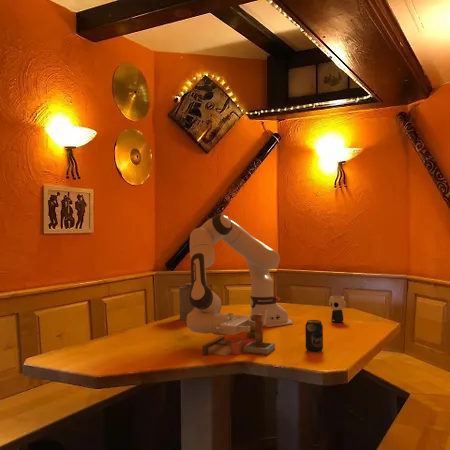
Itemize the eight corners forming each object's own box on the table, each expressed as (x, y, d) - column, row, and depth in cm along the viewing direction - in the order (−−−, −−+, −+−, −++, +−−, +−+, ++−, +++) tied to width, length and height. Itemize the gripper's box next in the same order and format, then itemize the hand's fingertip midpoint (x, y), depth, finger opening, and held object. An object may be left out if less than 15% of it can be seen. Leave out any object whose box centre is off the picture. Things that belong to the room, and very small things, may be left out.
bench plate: (205, 353, 201) (204, 347, 201) (218, 345, 214) (218, 339, 214) (228, 355, 198) (228, 349, 198) (240, 347, 211) (240, 341, 210)
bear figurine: (324, 321, 263) (324, 296, 263) (333, 319, 268) (333, 294, 267) (341, 324, 255) (341, 298, 254) (350, 322, 259) (350, 297, 259)
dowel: (261, 347, 206) (260, 313, 206) (264, 349, 203) (263, 315, 203) (254, 348, 205) (254, 314, 205) (257, 350, 202) (256, 315, 202)
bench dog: (231, 354, 200) (231, 342, 200) (238, 349, 208) (238, 338, 208) (238, 354, 199) (238, 343, 199) (245, 349, 207) (245, 338, 207)
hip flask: (201, 322, 262) (201, 284, 262) (195, 324, 259) (195, 285, 259) (183, 318, 274) (182, 281, 274) (177, 319, 271) (176, 282, 271)
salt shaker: (248, 339, 225) (248, 316, 225) (245, 335, 232) (244, 313, 232) (264, 338, 227) (264, 316, 226) (260, 334, 234) (260, 313, 234)
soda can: (314, 354, 199) (314, 323, 199) (302, 350, 205) (301, 321, 205) (326, 351, 203) (326, 321, 203) (314, 347, 209) (313, 318, 209)
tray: (243, 353, 202) (243, 346, 202) (251, 347, 211) (251, 341, 211) (267, 355, 198) (267, 349, 198) (274, 349, 207) (274, 343, 207)
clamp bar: (202, 355, 199) (202, 346, 199) (221, 344, 217) (221, 335, 217) (206, 355, 199) (206, 346, 199) (224, 344, 216) (224, 336, 216)
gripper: (212, 321, 201) (245, 323, 195) (231, 312, 220) (262, 314, 214) (213, 337, 201) (245, 340, 196) (232, 327, 220) (262, 329, 214)
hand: (254, 326), depth 205 cm, fingers open, 8 cm apart
